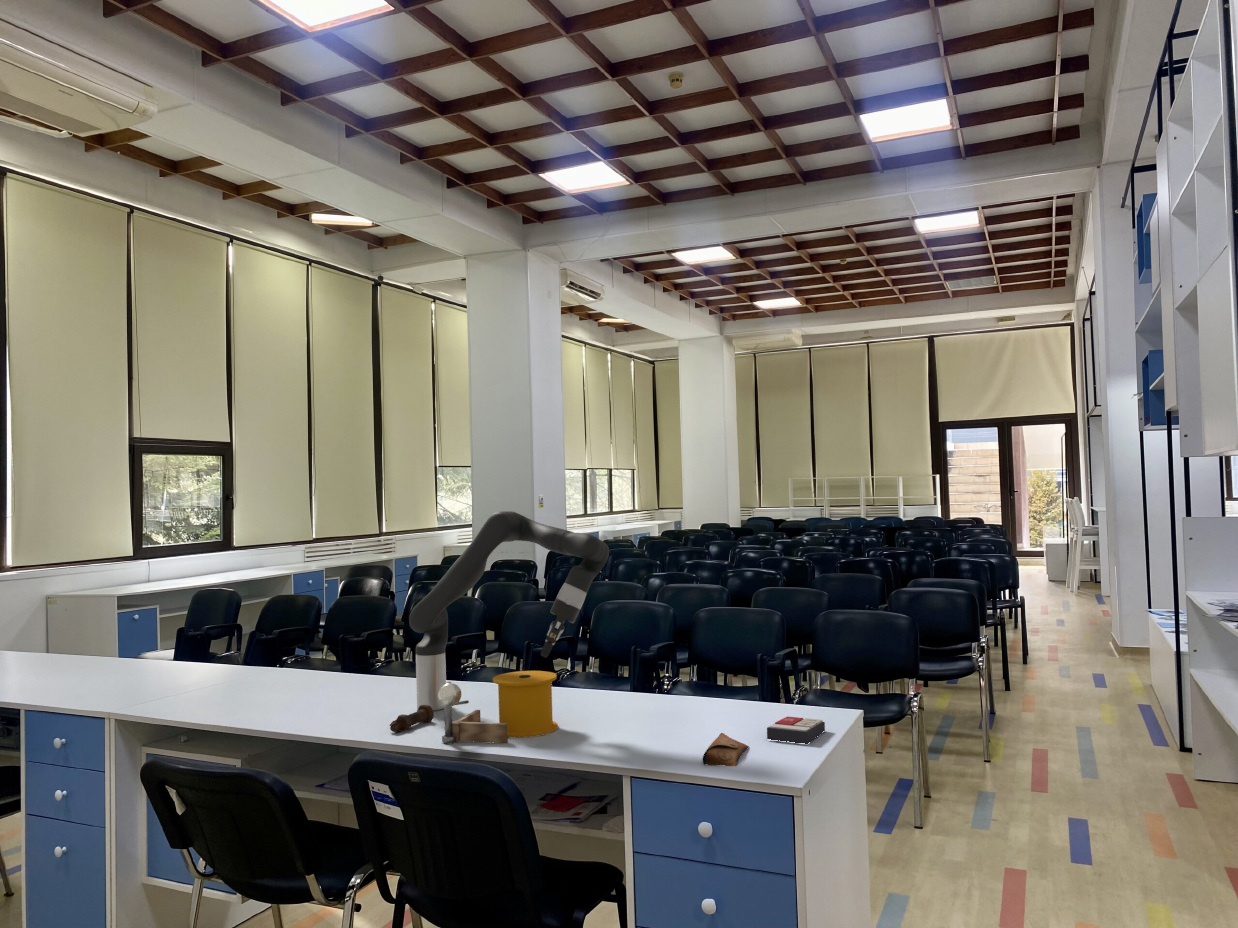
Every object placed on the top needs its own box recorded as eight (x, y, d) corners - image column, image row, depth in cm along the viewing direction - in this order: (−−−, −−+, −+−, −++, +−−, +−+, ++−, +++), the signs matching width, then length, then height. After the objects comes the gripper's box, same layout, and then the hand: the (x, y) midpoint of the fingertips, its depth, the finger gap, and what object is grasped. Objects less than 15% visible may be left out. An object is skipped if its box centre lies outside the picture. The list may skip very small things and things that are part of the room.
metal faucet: (441, 745, 238) (439, 685, 238) (436, 742, 241) (434, 682, 242) (472, 740, 242) (471, 680, 243) (467, 737, 246) (465, 678, 247)
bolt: (391, 740, 253) (425, 725, 266) (403, 732, 251) (436, 718, 265) (382, 721, 254) (417, 708, 268) (394, 713, 252) (428, 700, 266)
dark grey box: (825, 718, 240) (807, 728, 227) (825, 735, 240) (807, 746, 227) (786, 714, 246) (766, 724, 233) (786, 730, 245) (766, 741, 232)
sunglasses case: (737, 766, 210) (722, 741, 212) (713, 780, 212) (698, 755, 213) (750, 746, 228) (736, 722, 229) (727, 759, 229) (713, 735, 231)
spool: (502, 721, 263) (501, 670, 263) (563, 721, 261) (561, 669, 261) (486, 737, 245) (485, 682, 245) (551, 737, 243) (550, 681, 243)
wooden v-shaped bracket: (464, 750, 232) (463, 731, 232) (437, 733, 251) (437, 715, 251) (508, 742, 238) (508, 723, 239) (479, 726, 257) (479, 709, 257)
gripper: (557, 597, 260) (532, 649, 257) (556, 596, 245) (530, 651, 243) (580, 608, 259) (556, 660, 256) (581, 607, 245) (555, 662, 242)
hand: (543, 655), depth 250 cm, fingers open, 8 cm apart
